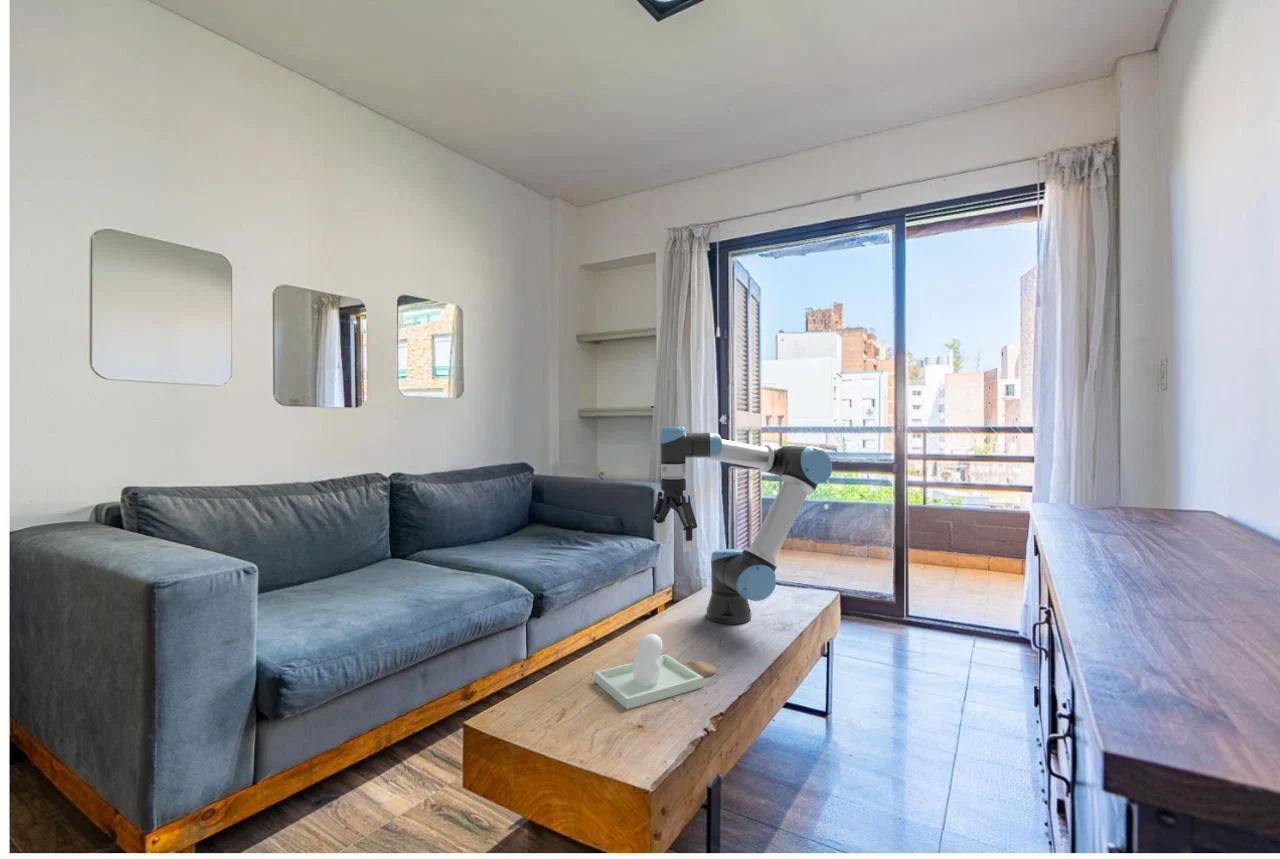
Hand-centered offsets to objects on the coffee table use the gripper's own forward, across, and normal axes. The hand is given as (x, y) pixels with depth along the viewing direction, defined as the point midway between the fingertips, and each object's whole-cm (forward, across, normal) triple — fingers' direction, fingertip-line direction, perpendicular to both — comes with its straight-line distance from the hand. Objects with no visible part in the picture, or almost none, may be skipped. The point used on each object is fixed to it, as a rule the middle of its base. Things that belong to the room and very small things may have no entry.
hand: (674, 547), depth 173 cm
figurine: (+28, +20, -22) cm, 41 cm away
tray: (+28, +20, -22) cm, 41 cm away
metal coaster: (+28, +20, -6) cm, 36 cm away
